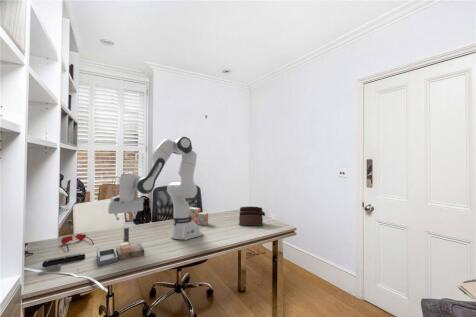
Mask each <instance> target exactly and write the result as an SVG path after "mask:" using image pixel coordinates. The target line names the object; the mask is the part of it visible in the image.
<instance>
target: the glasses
mask: <svg viewBox="0 0 476 317" xmlns="http://www.w3.org/2000/svg"><path fill="white" fill-rule="evenodd" d="M73 237H74V238H75V240H79V241H83V240H85V239H86V238H87V239H88V240H90V242H91V244H92V246H93V245H95V244H94V240H93V239H91V238H89V237H88V236H87V234H83V233H77V234H76V235H75V234H74V235H69V236H64V237H62V239H61V240H60V242H61V244H62V245H65V247H66V249H67V252H69V251H70V250H69V245H67V243H69V242H71V241H73V240H74V238H73Z"/></svg>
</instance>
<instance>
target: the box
mask: <svg viewBox="0 0 476 317" xmlns="http://www.w3.org/2000/svg"><path fill="white" fill-rule="evenodd" d="M96 260H97V266H98V267H100V266H105V265H111V264H114V263H118V262H119V260H118V255H117V253H116V247H114V248H113V247H112V248H107V249H103V250H100V249H99V246H97V247H96Z"/></svg>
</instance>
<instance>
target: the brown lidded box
mask: <svg viewBox="0 0 476 317" xmlns="http://www.w3.org/2000/svg"><path fill="white" fill-rule="evenodd" d="M263 222H264V221H263V208H262V207H259V206H240V208H239V217H238V225H240V226H261V227H262V226H263V224H264V223H263Z"/></svg>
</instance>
